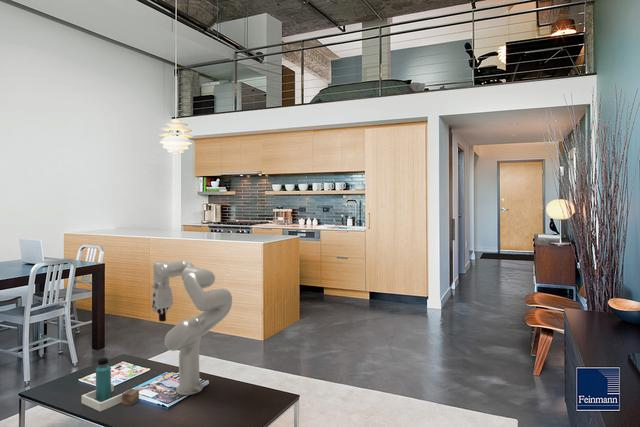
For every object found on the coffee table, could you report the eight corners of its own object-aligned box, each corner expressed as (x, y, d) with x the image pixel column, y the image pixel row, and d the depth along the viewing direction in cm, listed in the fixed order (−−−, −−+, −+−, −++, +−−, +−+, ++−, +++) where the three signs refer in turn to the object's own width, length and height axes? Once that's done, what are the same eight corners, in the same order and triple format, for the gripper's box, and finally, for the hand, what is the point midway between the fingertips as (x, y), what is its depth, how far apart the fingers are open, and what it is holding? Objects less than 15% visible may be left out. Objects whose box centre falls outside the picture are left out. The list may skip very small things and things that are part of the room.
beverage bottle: (113, 401, 194) (113, 359, 193) (97, 406, 190) (97, 362, 189) (109, 396, 199) (109, 355, 198) (93, 401, 195) (93, 358, 194)
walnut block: (139, 400, 195) (138, 389, 195) (132, 405, 191) (131, 394, 190) (129, 399, 197) (129, 388, 196) (122, 404, 192) (122, 393, 192)
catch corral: (131, 398, 198) (131, 390, 197) (100, 411, 185) (100, 403, 185) (112, 390, 206) (112, 383, 205) (81, 403, 193) (81, 395, 193)
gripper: (154, 289, 208) (155, 325, 208) (178, 283, 221) (178, 318, 222) (144, 287, 212) (145, 323, 212) (167, 282, 225) (168, 316, 225)
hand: (162, 320), depth 217 cm, fingers closed
